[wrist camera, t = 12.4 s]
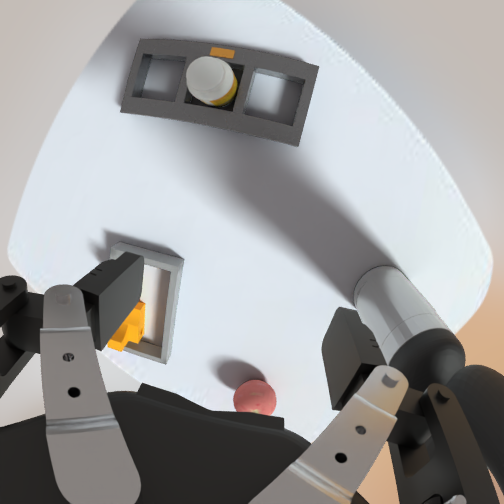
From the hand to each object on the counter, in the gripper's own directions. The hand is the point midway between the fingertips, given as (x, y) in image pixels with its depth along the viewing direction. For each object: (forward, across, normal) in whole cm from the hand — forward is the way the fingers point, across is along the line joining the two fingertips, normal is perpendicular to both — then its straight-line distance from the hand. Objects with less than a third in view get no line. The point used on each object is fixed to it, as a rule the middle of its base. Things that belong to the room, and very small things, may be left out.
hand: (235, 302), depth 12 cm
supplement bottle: (+30, +9, -12) cm, 34 cm away
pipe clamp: (+30, +16, +23) cm, 41 cm away
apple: (+30, -8, +34) cm, 46 cm away
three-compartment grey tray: (+30, +9, -12) cm, 34 cm away
